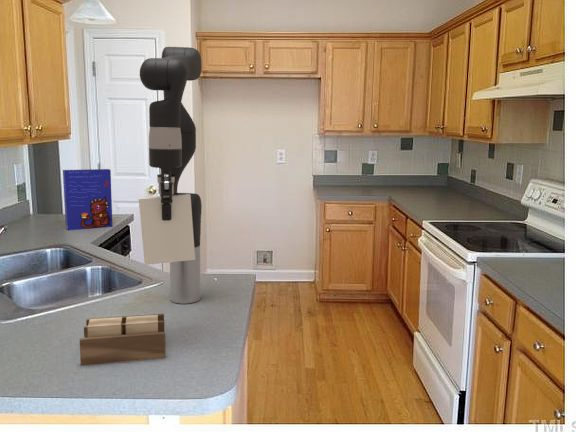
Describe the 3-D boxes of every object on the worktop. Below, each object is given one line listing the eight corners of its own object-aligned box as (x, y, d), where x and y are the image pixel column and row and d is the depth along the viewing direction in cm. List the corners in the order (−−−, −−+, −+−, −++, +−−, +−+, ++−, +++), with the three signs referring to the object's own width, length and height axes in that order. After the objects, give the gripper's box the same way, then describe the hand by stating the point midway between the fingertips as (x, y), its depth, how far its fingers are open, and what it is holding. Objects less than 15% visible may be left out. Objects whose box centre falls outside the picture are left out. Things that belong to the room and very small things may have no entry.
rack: (88, 346, 123) (86, 318, 121) (164, 340, 127) (163, 313, 126) (80, 370, 111) (79, 340, 109) (165, 362, 115) (165, 333, 114)
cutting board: (144, 262, 124) (138, 197, 121) (194, 257, 127) (189, 194, 124) (144, 264, 121) (138, 199, 118) (195, 259, 124) (190, 195, 121)
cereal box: (109, 224, 270) (107, 168, 265) (112, 226, 265) (110, 169, 260) (65, 228, 258) (62, 169, 253) (67, 230, 253) (64, 170, 248)
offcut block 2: (127, 349, 119) (126, 316, 117) (158, 346, 121) (157, 314, 119) (126, 357, 114) (125, 324, 113) (158, 354, 116) (157, 321, 115)
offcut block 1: (91, 352, 117) (89, 319, 115) (123, 349, 118) (122, 317, 117) (88, 360, 112) (87, 326, 111) (122, 358, 114) (120, 324, 113)
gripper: (183, 148, 113) (184, 224, 116) (180, 145, 127) (180, 213, 130) (148, 148, 112) (150, 225, 115) (149, 145, 125) (150, 214, 128)
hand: (166, 218), depth 122 cm, fingers closed on cutting board, 2 cm apart
